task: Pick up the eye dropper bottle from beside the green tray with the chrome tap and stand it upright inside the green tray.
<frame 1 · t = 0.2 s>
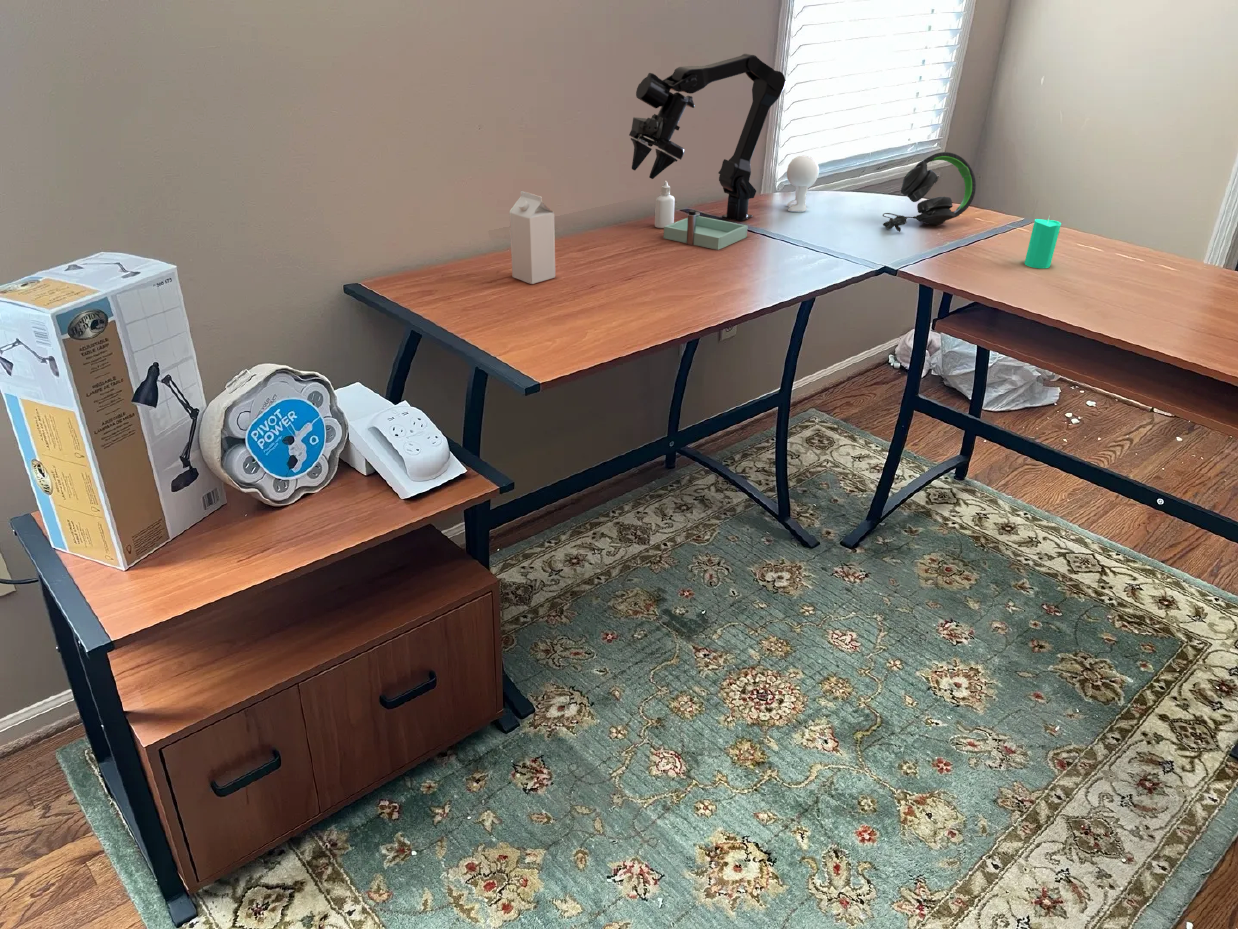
hand: (641, 173, 238), 14 cm above the table, tool tilted 30°, fingers open, 9 cm apart
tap: (690, 243, 233), resting in green tray
eye dropper bottle: (664, 226, 248), on the table
green tray: (705, 237, 238), on the table
candle: (1037, 265, 222), on the table
milk carton: (533, 278, 209), on the table
toy character: (798, 209, 265), on the table
headset: (926, 226, 251), on the table
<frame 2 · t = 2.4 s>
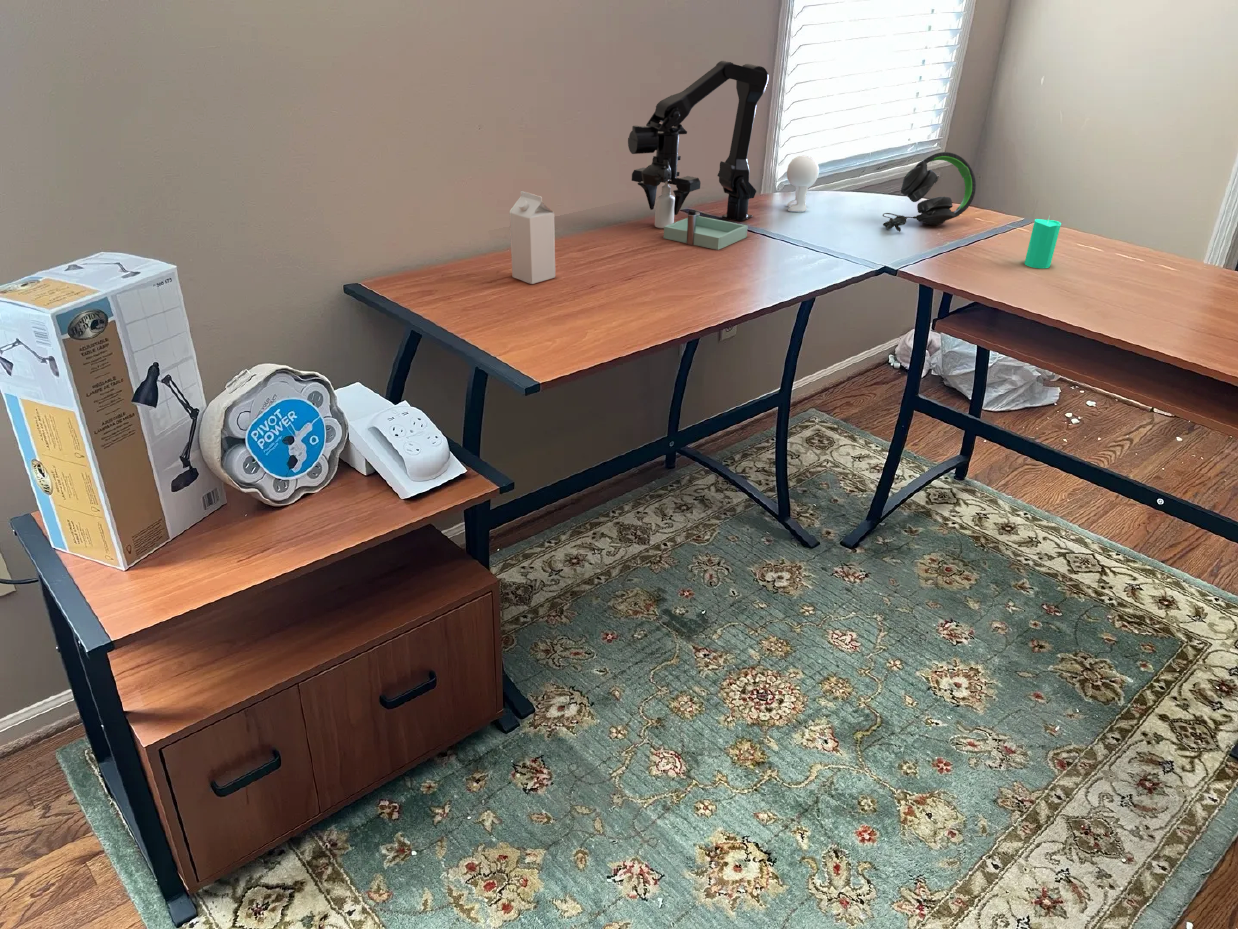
hand: (663, 212, 246), 4 cm above the table, tool pointing down, fingers closed on eye dropper bottle, 7 cm apart
eye dropper bottle: (664, 226, 247), on the table, touching gripper
everything else where it was.
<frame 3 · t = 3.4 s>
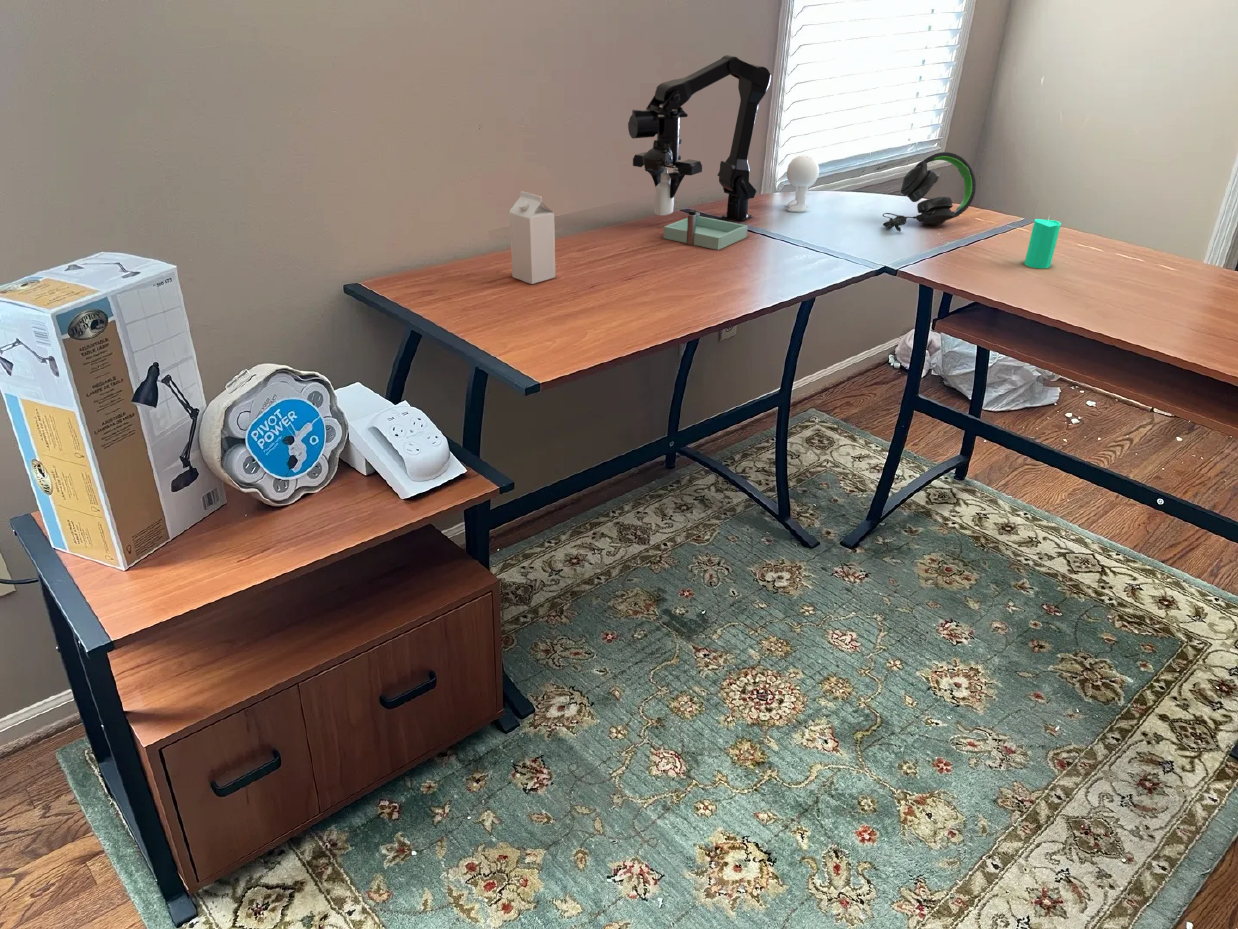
hand: (665, 196, 244), 8 cm above the table, tool pointing down, fingers closed on eye dropper bottle, 4 cm apart
eye dropper bottle: (663, 213, 246), point 3 cm above the table, touching gripper
everything else where it was.
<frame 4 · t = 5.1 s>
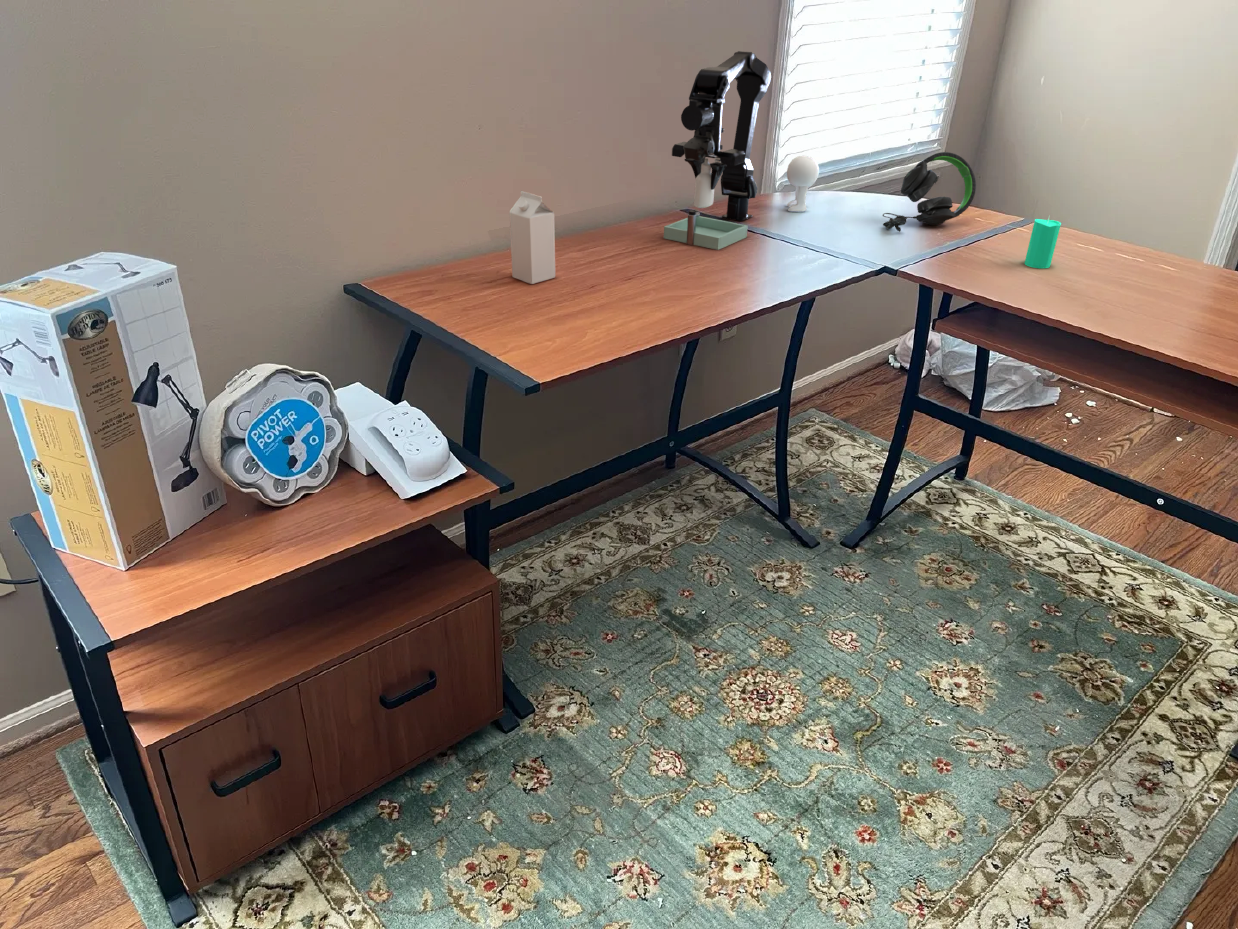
hand: (706, 188, 234), 12 cm above the table, tool pointing down, fingers closed on eye dropper bottle, 3 cm apart
eye dropper bottle: (703, 206, 236), point 8 cm above the table, touching gripper
everything else where it was.
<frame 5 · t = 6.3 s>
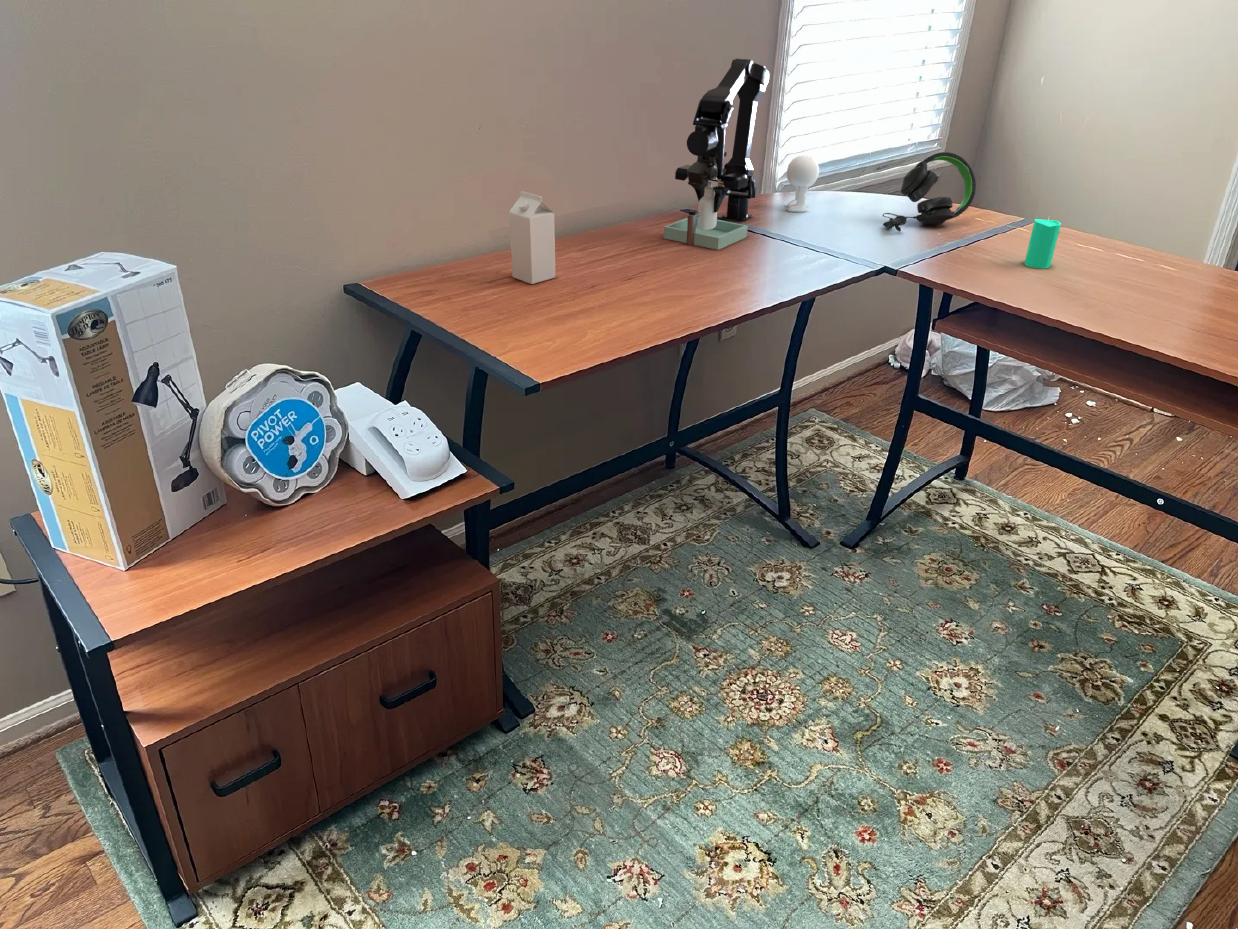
hand: (709, 210, 236), 7 cm above the table, tool pointing down, fingers closed on eye dropper bottle, 3 cm apart
eye dropper bottle: (706, 228, 238), point 2 cm above the table, touching gripper
everything else where it was.
when the fingers open (5 cm above the table, at t = 6.9 s): eye dropper bottle stays where it is, resting on green tray.
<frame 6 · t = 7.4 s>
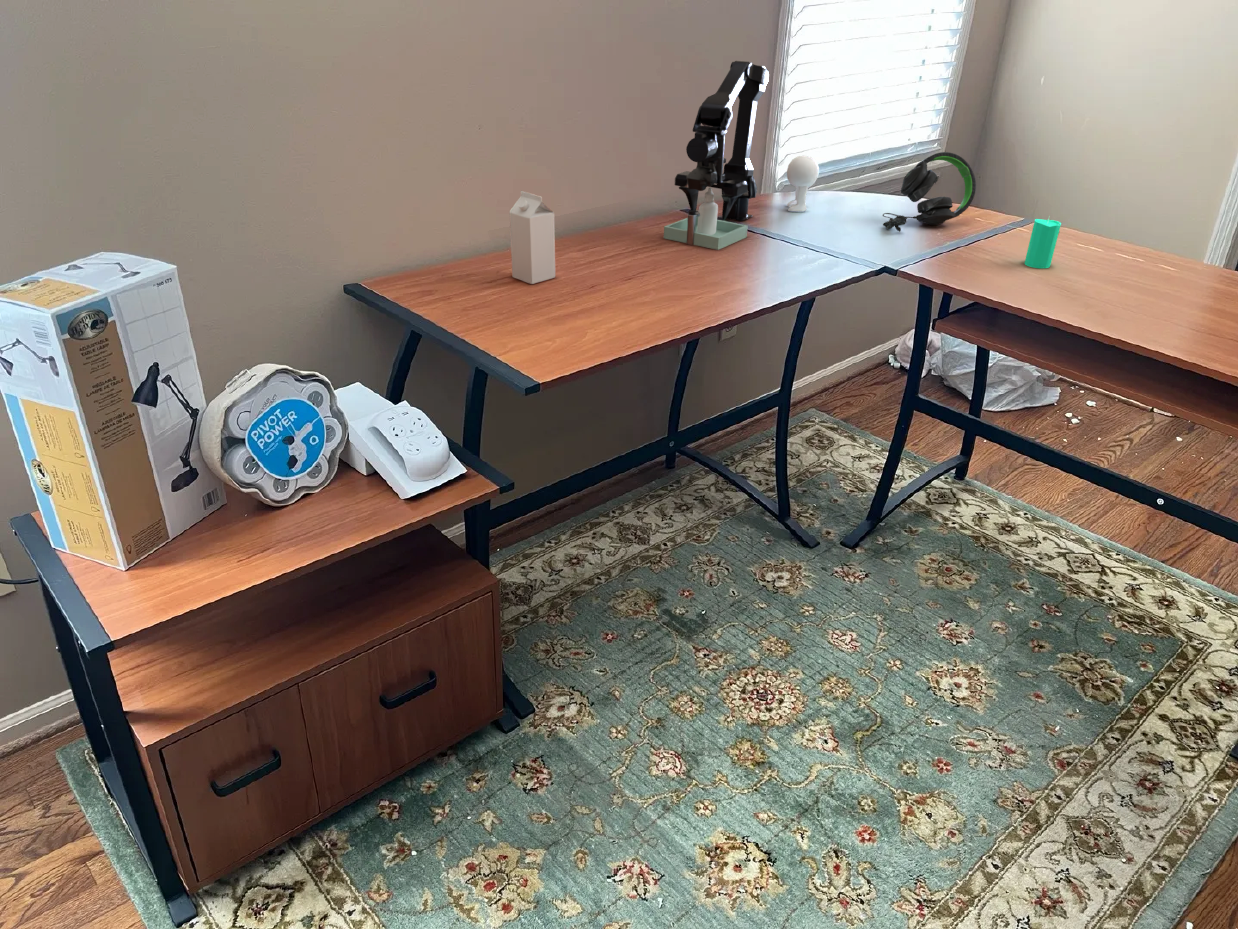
hand: (708, 217, 237), 5 cm above the table, tool pointing down, fingers open, 9 cm apart
eye dropper bottle: (706, 234, 239), resting on green tray
everything else where it was.
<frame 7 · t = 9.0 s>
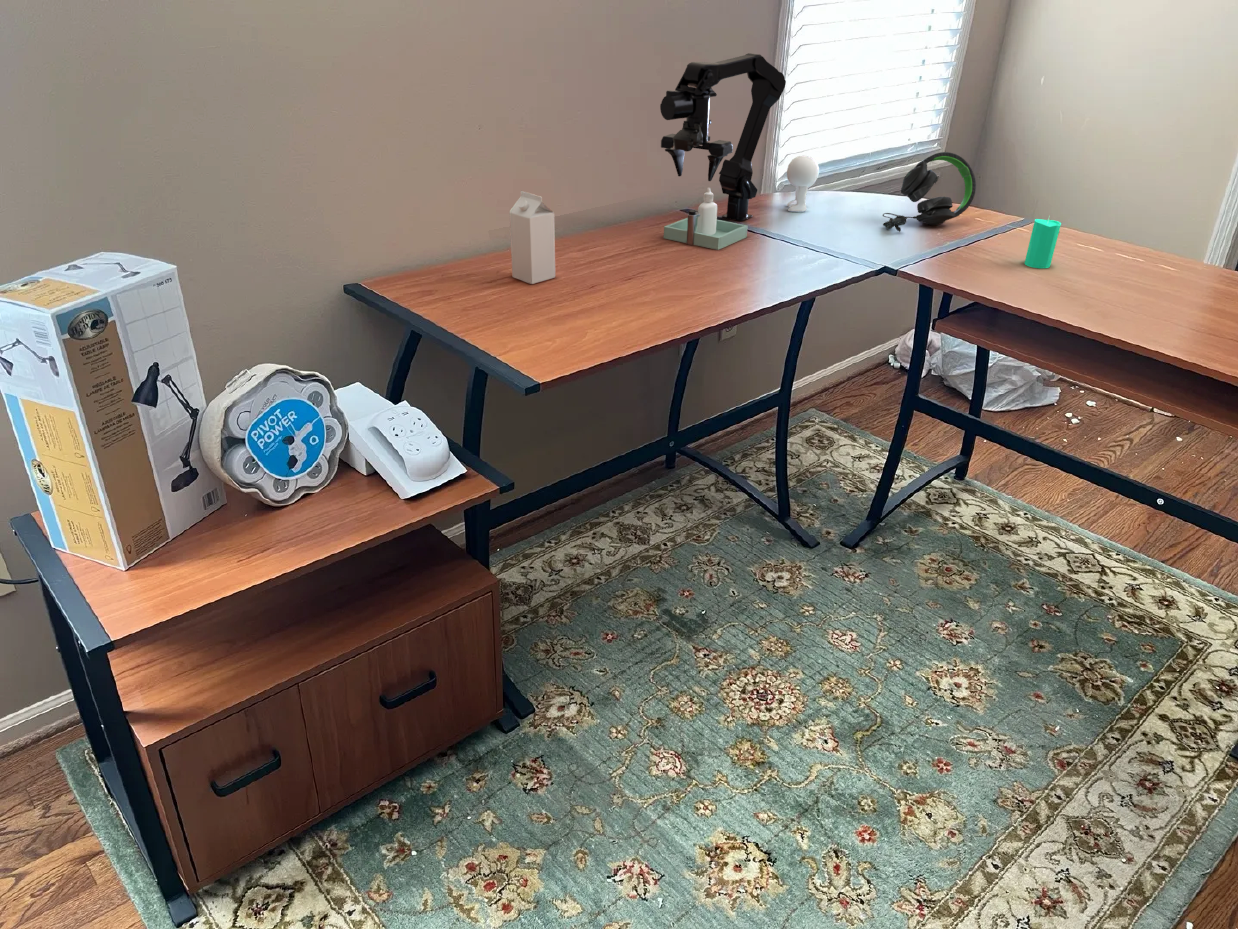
hand: (694, 178, 241), 13 cm above the table, tool pointing down, fingers open, 9 cm apart
nothing on the table moved.
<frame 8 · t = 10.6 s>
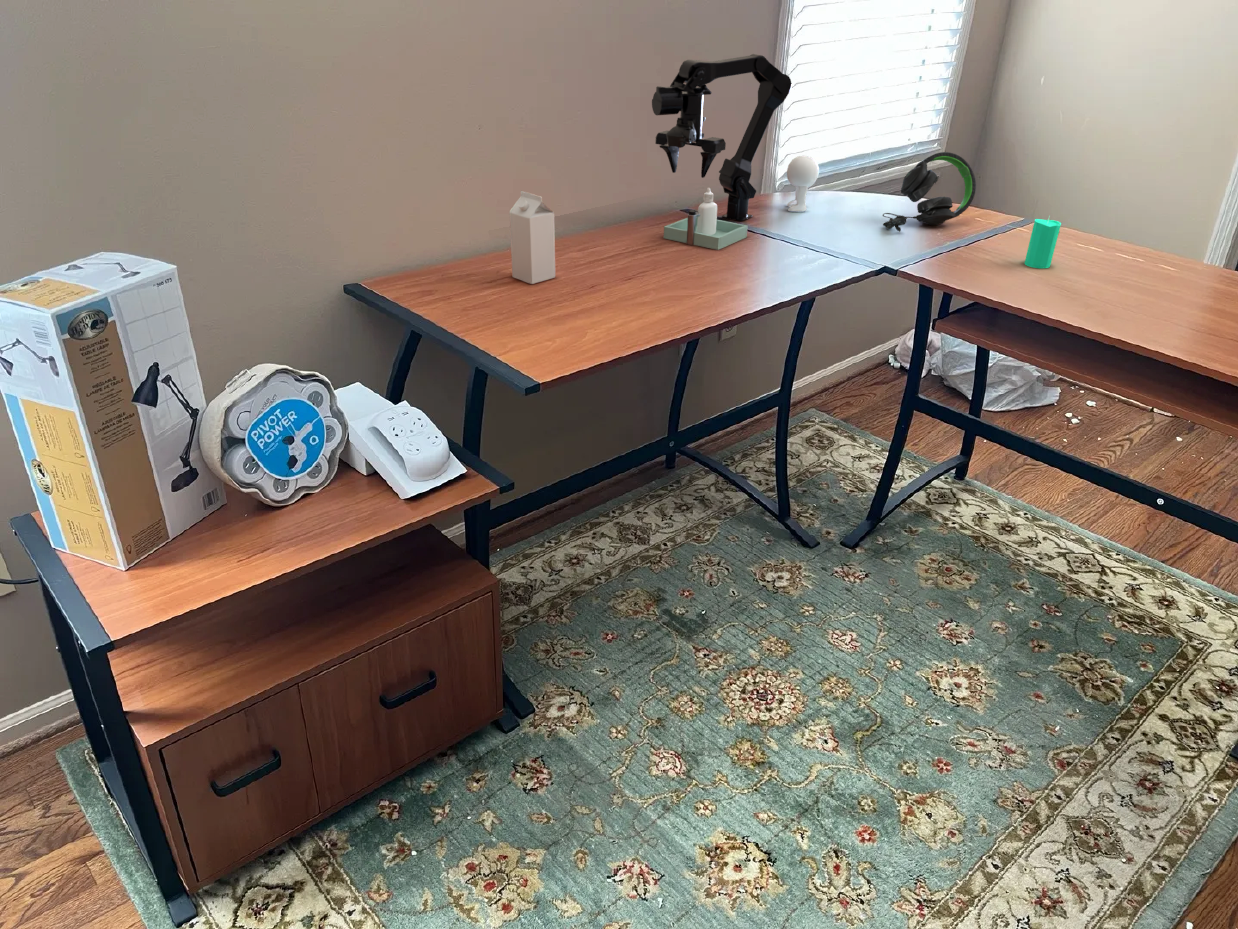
hand: (688, 174, 244), 13 cm above the table, tool pointing down, fingers open, 9 cm apart
nothing on the table moved.
at the end: eye dropper bottle inside the target area in the green tray (0.9 cm from its centre), point 0.4 cm above the green tray's base; eye dropper bottle tilted 0°; the gripper is holding nothing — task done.
